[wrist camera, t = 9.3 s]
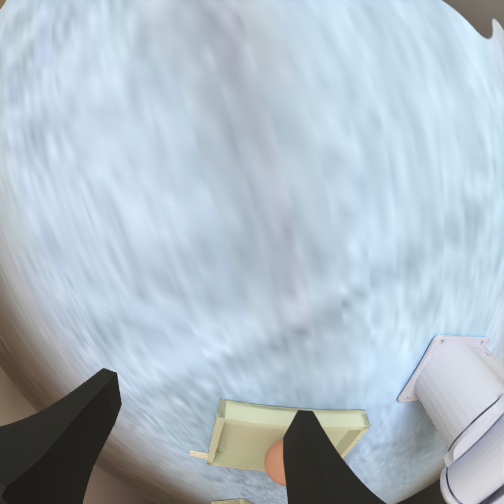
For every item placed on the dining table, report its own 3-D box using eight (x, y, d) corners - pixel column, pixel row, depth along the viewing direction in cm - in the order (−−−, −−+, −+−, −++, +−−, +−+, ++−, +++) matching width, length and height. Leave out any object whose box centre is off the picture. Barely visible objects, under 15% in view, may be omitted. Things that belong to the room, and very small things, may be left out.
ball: (318, 426, 23) (343, 464, 18) (286, 455, 23) (306, 492, 18) (278, 423, 21) (302, 470, 16) (246, 454, 21) (263, 497, 16)
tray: (364, 409, 22) (370, 425, 19) (328, 456, 24) (331, 470, 22) (219, 398, 21) (217, 417, 19) (208, 448, 24) (206, 463, 22)
